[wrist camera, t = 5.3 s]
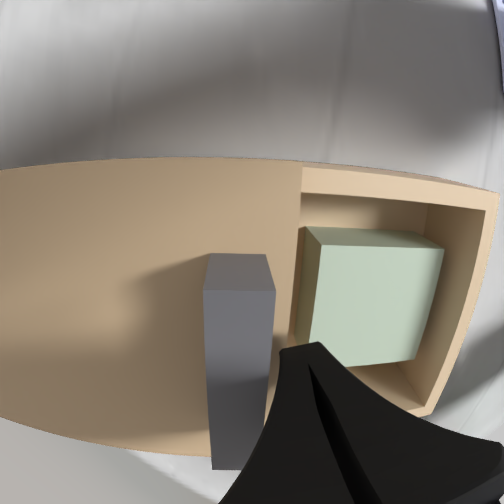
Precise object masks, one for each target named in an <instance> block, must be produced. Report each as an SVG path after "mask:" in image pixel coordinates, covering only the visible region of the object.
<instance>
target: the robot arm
mask: <svg viewBox="0 0 504 504" xmlns="http://www.w3.org/2000/svg"><path fill="white" fill-rule="evenodd" d="M492 1H493V6H494V11H495V17H496V23H497V29H498V36H499V44H500V53H501V63H502V77H503V91H504V0H492ZM279 357H280V364H279V373H278V380H277V385H276V389H275V394H274V398H273V401H272V404H271V408H270V411H269V414H268V417H267V420H266V422H265V425H264V428H263V430H262V432H261V435H260V437H259V439H258V441H257V444H256V446H255V448H254V449H253V451H252V453H251V455H250V457H249V459H248V461H247V463H246V464H245V466H244V468H243V469H242V471H241V473H240V474H239V476H238V477H237V479H236V480H235V482H234V483H233V484H232V486H231V487H230V489H229V490H228V492H227V493H226V495H225V496H224V497H223V498H222V500H221V501H220V502H219V503H218V504H501V503H500V501H499V499H500V498H501V497H502V496H503V494H504V447H503V446H502V444H501V443H499V442H494V441H489V440H485V439H480V438H475V437H471V436H467V435H463V434H460V433H457V432H454V431H451V430H448V429H445V428H442V427H440V426H437V425H435V424H433V423H430V422H428V421H426V420H423V419H421V418H419V417H416V416H415V415H413V414H411V413H409V412H407V411H405V410H403V409H402V408H400V407H398V406H396V405H395V404H393V403H391V402H390V401H388V400H387V399H385V398H384V397H382V396H381V395H379V394H378V393H377V392H375V391H374V390H372V389H371V388H370V387H368V386H367V385H366V384H365V383H363V382H362V381H361V380H360V379H358V378H357V377H356V376H355V375H354V374H353V373H351V372H350V371H349V370H348V369H347V368H346V367H345V366H344V365H342V364H341V363H340V362H339V361H338V360H337V359H336V358H335V357H334V356H333V355H332V354H331V353H330V352H329V351H328V350H327V348H326V347H325V346H324V345H323V344H322V343H321V342H319V341H317V342H312V343H307V344H303V345H298V346H293V347H288V348H282V349H281V350H280V351H279Z"/></svg>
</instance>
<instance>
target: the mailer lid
mask: <svg viewBox="0 0 504 504" xmlns="http://www.w3.org/2000/svg"><path fill="white" fill-rule="evenodd" d="M302 169H303V162H300V161H294V160H277V159H257V158H226V157H156V158H126V159H107V160H91V161H78V162H66V163H55V164H45V165H36V166H27V167H19V168H12V169H4V170H0V417H2V418H5V419H8V420H11V421H13V422H16V423H19V424H23V425H26V426H29V427H32V428H35V429H39V430H42V431H46V432H49V433H53V434H57V435H61V436H65V437H69V438H73V439H77V440H82V441H86V442H91V443H96V444H101V445H106V446H112V447H118V448H124V449H130V450H138V451H145V452H153V453H163V454H173V455H186V456H204V457H211V460H212V470H242V469H243V468H244V466H245V464H246V463H247V461H248V459H249V457H250V455H251V453H252V451H253V449H254V448H255V446H256V444H257V441H258V439H259V437H260V435H261V432H262V430H263V428H264V425H265V422H266V420H267V417H268V414H269V411H270V408H271V404H272V401H273V398H274V394H275V389H276V385H277V380H278V373H279V364H280V357H279V351H280V350H281V349H282V348H286V347H287V338H288V329H289V320H290V311H291V302H292V292H293V282H294V271H295V261H296V249H297V238H298V225H299V213H300V199H301V185H302Z"/></svg>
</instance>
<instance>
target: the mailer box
mask: <svg viewBox="0 0 504 504" xmlns="http://www.w3.org/2000/svg"><path fill="white" fill-rule="evenodd" d="M300 162H303V169H302V185H301V199H300V213H299V225H298V238H297V249H296V261H295V271H294V282H293V292H292V302H291V311H290V320H289V329H288V338H287V347H286V348H288V347H293V346H298V345H303V344H307V343H312V342H317V341H319V342H321V343H322V344H323V345H324V346H325V347H326V348H327V350H328V351H329V352H330V353H331V354H332V355H333V356H334V357H335V358H336V359H337V360H338V361H339V362H340V363H341V364H342V365H344V366H345V367H346V368H347V369H348V370H349V371H350V372H351V373H353V374H354V375H355V376H356V377H357V378H358V379H360V380H361V381H362V382H363V383H365V384H366V385H367V386H368V387H370V388H371V389H372V390H374V391H375V392H377V393H378V394H379V395H381V396H382V397H384V398H385V399H387V400H388V401H390V402H391V403H393V404H395V405H396V406H398V407H400V408H402V409H403V410H405V411H407V412H409V413H411V414H413V415H415V416H416V417H422V416H426V415H430V414H431V413H432V411H433V409H434V407H435V405H436V403H437V401H438V399H439V397H440V395H441V393H442V391H443V389H444V387H445V384H446V382H447V380H448V378H449V375H450V373H451V371H452V368H453V366H454V364H455V361H456V359H457V356H458V354H459V351H460V349H461V346H462V343H463V341H464V338H465V335H466V332H467V330H468V327H469V324H470V321H471V318H472V315H473V312H474V309H475V305H476V302H477V299H478V295H479V292H480V289H481V285H482V281H483V278H484V274H485V270H486V266H487V262H488V257H489V253H490V249H491V244H492V239H493V234H494V229H495V223H496V218H497V211H498V205H499V198H500V194H499V193H496V192H492V191H489V190H485V189H482V188H478V187H474V186H471V185H467V184H463V183H459V182H455V181H451V180H447V179H443V178H439V177H432V176H426V175H420V174H413V173H406V172H399V171H392V170H384V169H376V168H368V167H359V166H349V165H339V164H329V163H317V162H304V161H300Z"/></svg>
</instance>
